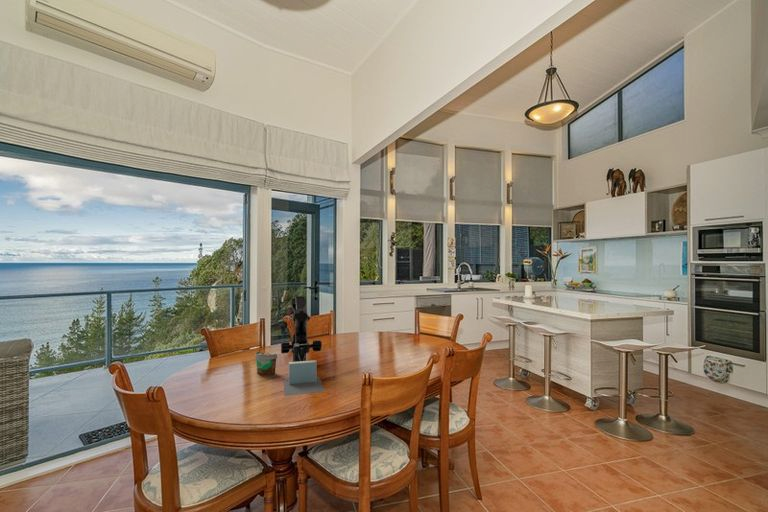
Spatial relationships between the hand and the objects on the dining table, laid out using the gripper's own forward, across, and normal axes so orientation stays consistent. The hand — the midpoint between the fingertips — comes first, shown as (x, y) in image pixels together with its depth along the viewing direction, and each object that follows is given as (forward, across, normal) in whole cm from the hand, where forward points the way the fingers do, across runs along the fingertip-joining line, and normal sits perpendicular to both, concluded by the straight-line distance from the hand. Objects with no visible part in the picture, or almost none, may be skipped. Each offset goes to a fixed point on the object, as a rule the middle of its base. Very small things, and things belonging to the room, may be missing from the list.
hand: (302, 362), depth 160 cm
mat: (+12, 0, +1) cm, 12 cm away
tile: (+9, 0, -2) cm, 9 cm away
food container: (-3, +18, -14) cm, 23 cm away
